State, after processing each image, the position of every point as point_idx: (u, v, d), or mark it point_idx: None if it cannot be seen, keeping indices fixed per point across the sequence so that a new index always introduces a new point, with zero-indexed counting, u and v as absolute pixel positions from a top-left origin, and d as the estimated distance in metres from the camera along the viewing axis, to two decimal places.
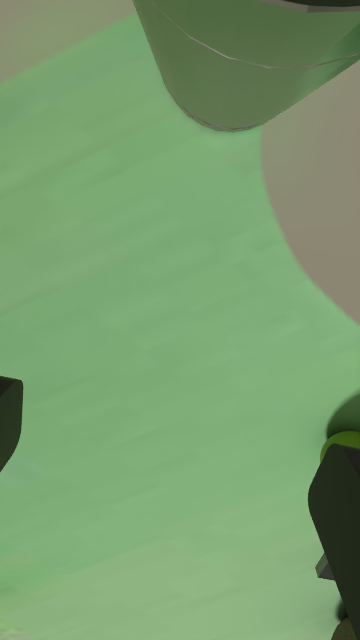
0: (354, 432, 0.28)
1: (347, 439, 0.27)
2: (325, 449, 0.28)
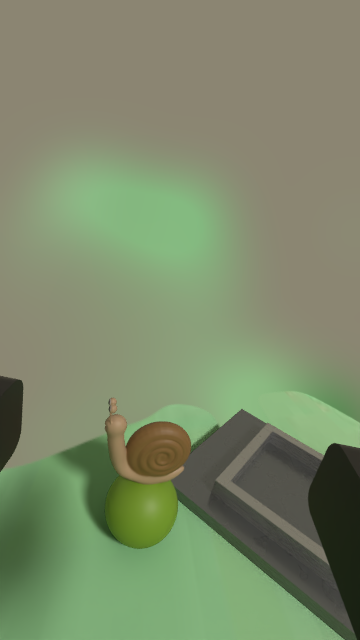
0: None
1: None
2: (110, 528, 0.23)
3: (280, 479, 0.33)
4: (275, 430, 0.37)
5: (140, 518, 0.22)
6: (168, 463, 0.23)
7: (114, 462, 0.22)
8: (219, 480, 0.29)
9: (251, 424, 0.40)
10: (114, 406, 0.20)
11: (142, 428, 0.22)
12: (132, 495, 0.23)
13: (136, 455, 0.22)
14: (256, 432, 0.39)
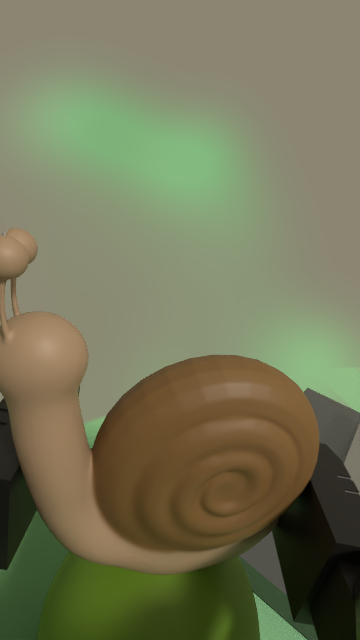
0: None
1: None
2: None
3: None
4: None
5: None
6: (246, 506, 0.06)
7: (44, 511, 0.06)
8: None
9: (331, 411, 0.23)
10: (10, 240, 0.04)
11: (152, 377, 0.06)
12: (119, 622, 0.07)
13: (131, 483, 0.06)
14: (344, 424, 0.22)
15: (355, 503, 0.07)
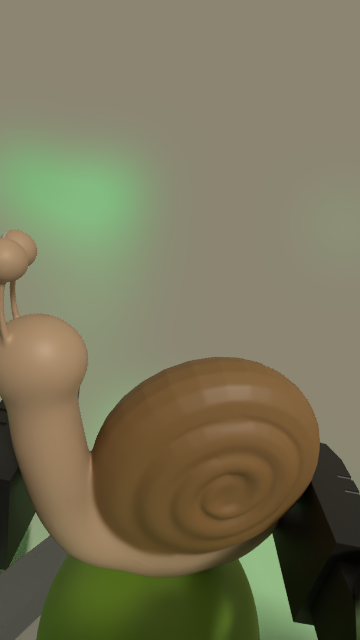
0: None
1: None
2: None
3: None
4: None
5: None
6: (246, 509, 0.06)
7: (43, 514, 0.06)
8: None
9: None
10: (10, 243, 0.04)
11: (152, 380, 0.06)
12: (118, 625, 0.06)
13: (131, 486, 0.06)
14: None
15: (355, 503, 0.07)
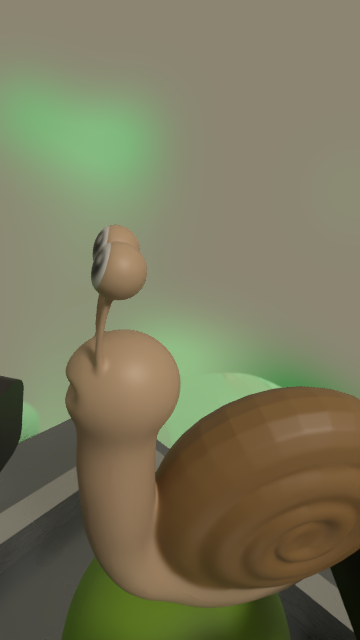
0: None
1: (66, 618, 0.08)
2: None
3: None
4: None
5: None
6: (321, 554, 0.06)
7: (102, 552, 0.05)
8: None
9: None
10: (132, 251, 0.03)
11: (239, 410, 0.05)
12: None
13: (205, 528, 0.05)
14: None
15: None
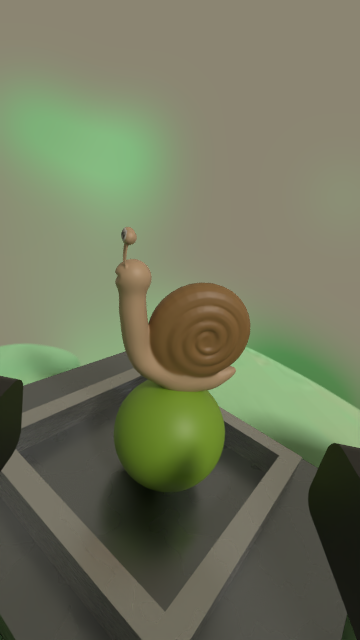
0: None
1: None
2: (122, 459, 0.15)
3: None
4: None
5: (172, 438, 0.14)
6: (215, 350, 0.14)
7: (130, 344, 0.14)
8: None
9: (129, 369, 0.26)
10: (132, 231, 0.12)
11: (175, 290, 0.14)
12: (158, 405, 0.14)
13: (167, 333, 0.14)
14: None
15: None
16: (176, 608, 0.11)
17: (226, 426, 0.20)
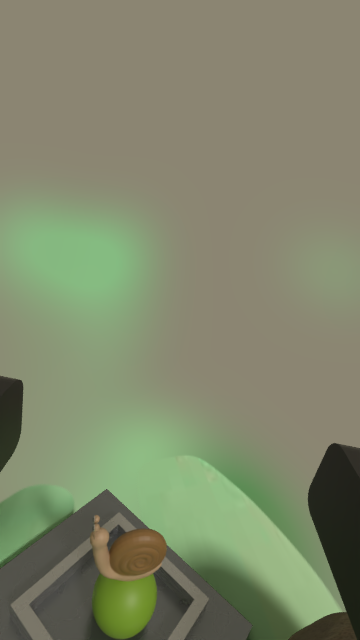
0: None
1: None
2: (96, 621, 0.27)
3: None
4: (122, 522, 0.35)
5: (121, 615, 0.25)
6: (146, 565, 0.26)
7: (98, 567, 0.25)
8: (15, 604, 0.27)
9: (107, 510, 0.38)
10: (97, 526, 0.24)
11: (123, 537, 0.25)
12: (115, 593, 0.26)
13: (118, 561, 0.25)
14: (108, 521, 0.37)
15: None
16: None
17: (165, 573, 0.32)
